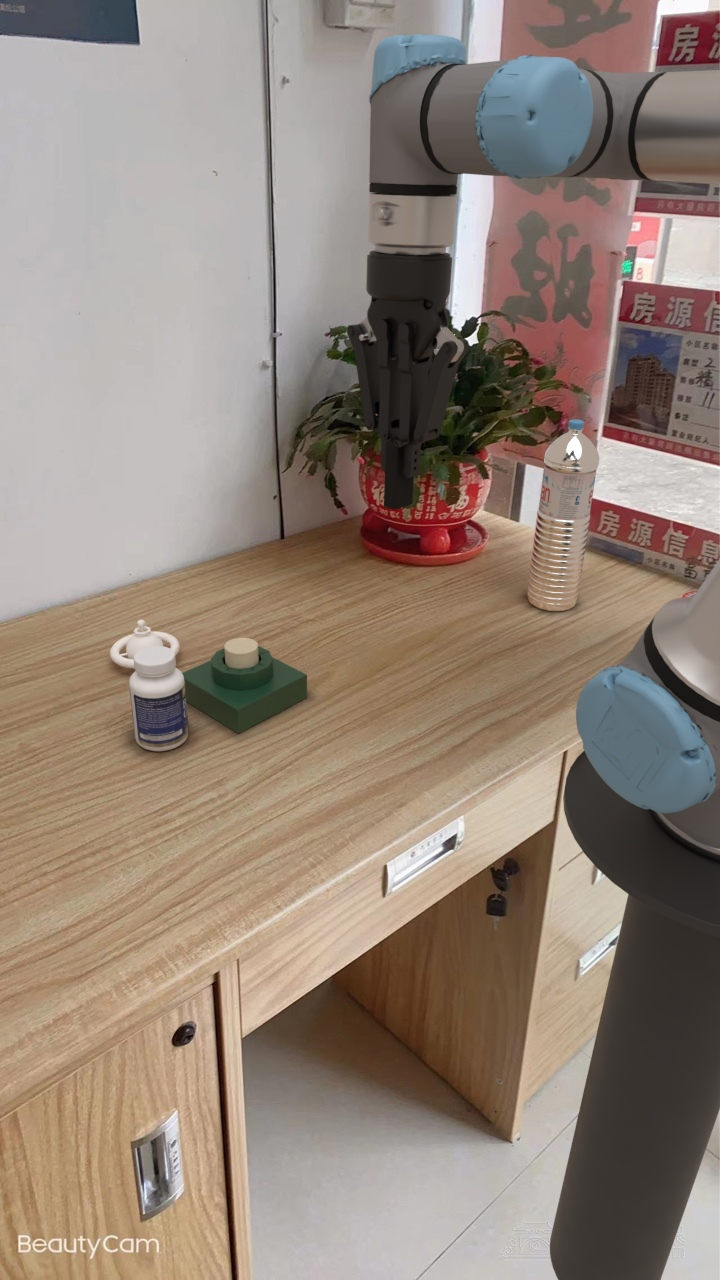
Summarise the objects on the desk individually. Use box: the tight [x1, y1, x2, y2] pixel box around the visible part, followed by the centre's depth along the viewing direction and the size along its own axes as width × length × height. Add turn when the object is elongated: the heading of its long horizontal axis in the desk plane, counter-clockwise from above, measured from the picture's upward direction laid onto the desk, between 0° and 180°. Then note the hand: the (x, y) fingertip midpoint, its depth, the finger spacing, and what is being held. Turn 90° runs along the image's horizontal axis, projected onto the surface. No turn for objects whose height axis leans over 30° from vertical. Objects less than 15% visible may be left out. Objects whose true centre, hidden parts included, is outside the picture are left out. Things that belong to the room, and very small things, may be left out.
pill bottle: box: [128, 646, 189, 752], centre depth 88 cm, size 5×5×10 cm
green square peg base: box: [182, 645, 308, 734], centre depth 97 cm, size 10×10×5 cm
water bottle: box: [526, 418, 600, 612], centre depth 116 cm, size 7×7×25 cm
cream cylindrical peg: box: [223, 637, 259, 669], centre depth 95 cm, size 4×4×2 cm
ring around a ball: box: [109, 619, 181, 670], centre depth 103 cm, size 8×6×8 cm
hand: (398, 504), depth 89 cm, fingers closed
